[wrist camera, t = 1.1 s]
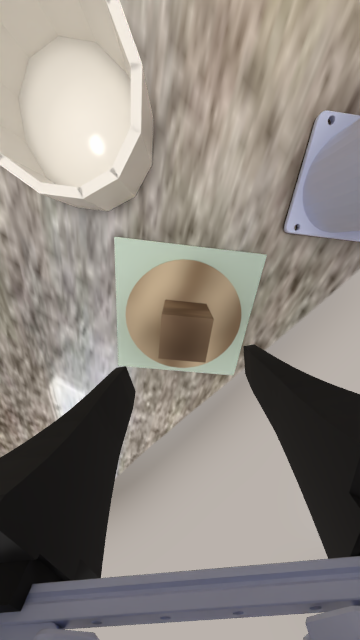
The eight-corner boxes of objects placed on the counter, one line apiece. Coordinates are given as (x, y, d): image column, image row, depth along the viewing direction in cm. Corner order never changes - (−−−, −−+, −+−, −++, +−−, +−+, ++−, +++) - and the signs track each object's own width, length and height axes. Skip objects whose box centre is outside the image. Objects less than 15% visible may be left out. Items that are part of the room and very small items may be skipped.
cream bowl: (156, 47, 12) (144, -57, 8) (150, 216, 16) (139, 206, 12) (2, 21, 12) (-97, -104, 7) (33, 202, 15) (-20, 186, 11)
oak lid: (250, 266, 17) (277, 274, 12) (225, 366, 21) (238, 399, 17) (128, 252, 16) (108, 255, 12) (128, 358, 21) (114, 389, 16)
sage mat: (264, 254, 17) (266, 254, 17) (232, 372, 22) (233, 375, 22) (116, 237, 16) (114, 236, 16) (119, 362, 22) (118, 365, 21)
